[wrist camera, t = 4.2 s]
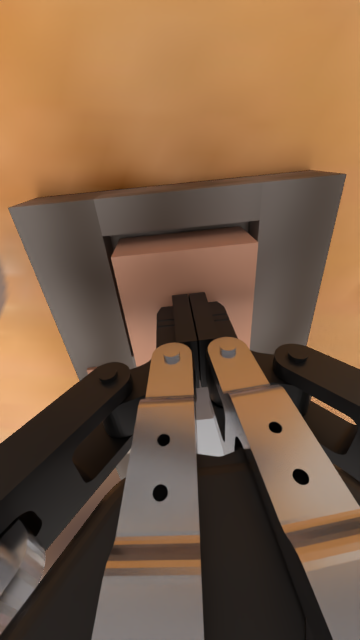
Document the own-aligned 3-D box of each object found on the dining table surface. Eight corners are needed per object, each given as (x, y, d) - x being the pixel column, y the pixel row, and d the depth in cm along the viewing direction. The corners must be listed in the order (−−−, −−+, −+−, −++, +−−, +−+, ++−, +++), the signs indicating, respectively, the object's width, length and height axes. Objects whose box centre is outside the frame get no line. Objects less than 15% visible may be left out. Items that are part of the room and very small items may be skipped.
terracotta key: (240, 226, 13) (258, 242, 10) (236, 325, 16) (249, 355, 14) (119, 238, 13) (110, 257, 10) (140, 336, 16) (136, 367, 14)
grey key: (241, 375, 16) (256, 413, 14) (238, 433, 19) (248, 472, 17) (145, 385, 16) (142, 426, 13) (157, 442, 19) (157, 482, 17)
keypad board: (310, 170, 13) (349, 174, 10) (262, 458, 28) (273, 490, 25) (37, 197, 13) (5, 208, 10) (133, 472, 28) (130, 506, 25)
